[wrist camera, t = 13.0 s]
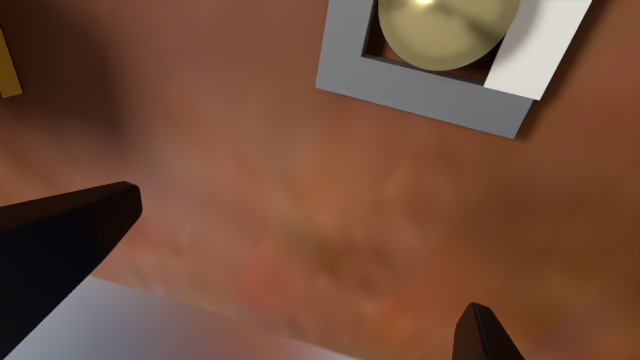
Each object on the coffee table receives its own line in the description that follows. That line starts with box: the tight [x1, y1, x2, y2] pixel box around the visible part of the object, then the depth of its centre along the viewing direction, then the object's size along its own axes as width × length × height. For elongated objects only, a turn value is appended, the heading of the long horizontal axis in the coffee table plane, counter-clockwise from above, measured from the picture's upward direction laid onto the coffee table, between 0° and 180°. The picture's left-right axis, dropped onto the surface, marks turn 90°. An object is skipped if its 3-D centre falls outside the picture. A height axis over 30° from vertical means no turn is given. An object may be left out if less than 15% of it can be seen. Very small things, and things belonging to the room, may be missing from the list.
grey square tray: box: [315, 0, 592, 139], centre depth 15 cm, size 10×10×1 cm
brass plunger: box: [378, 0, 521, 71], centre depth 14 cm, size 5×5×2 cm
